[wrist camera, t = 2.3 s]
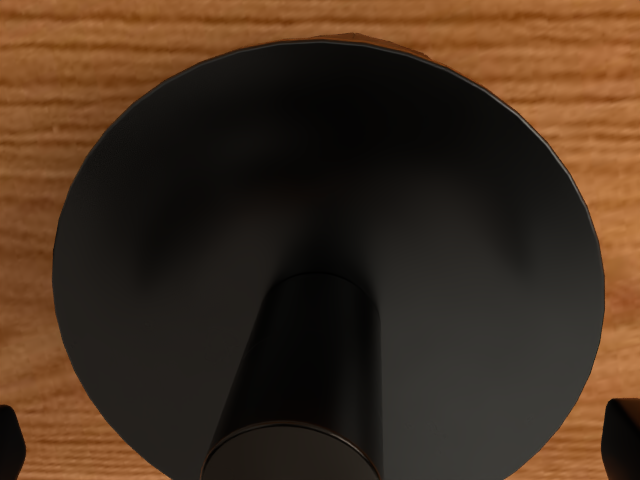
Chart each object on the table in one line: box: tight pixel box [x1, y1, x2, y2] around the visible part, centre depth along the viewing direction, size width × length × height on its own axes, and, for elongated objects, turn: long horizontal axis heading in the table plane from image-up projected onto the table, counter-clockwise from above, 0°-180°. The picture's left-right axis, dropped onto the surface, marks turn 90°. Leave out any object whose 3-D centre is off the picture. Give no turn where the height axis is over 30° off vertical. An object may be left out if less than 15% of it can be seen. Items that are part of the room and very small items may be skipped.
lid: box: [52, 37, 605, 480], centre depth 10 cm, size 11×11×5 cm
